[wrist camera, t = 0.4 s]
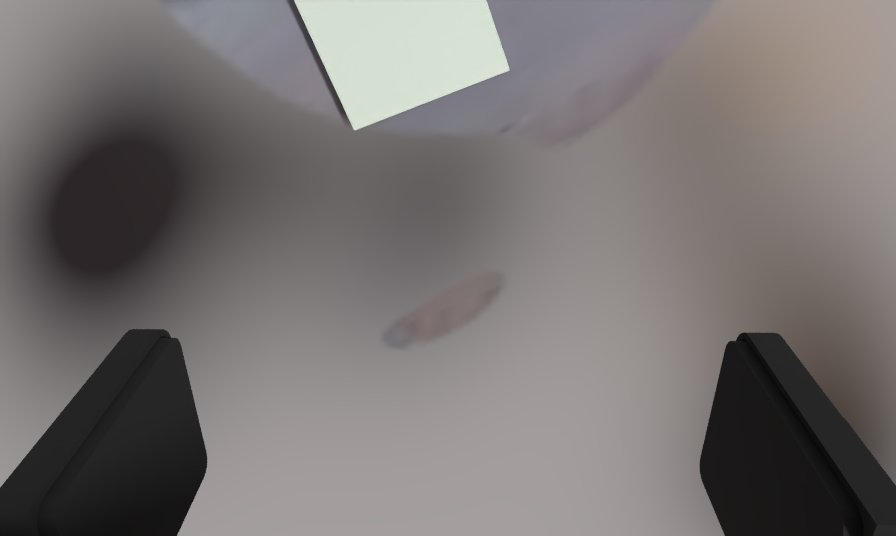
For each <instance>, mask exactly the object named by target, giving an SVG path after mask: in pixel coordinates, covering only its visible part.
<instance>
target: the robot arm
mask: <svg viewBox="0 0 896 536" xmlns="http://www.w3.org/2000/svg"><path fill="white" fill-rule="evenodd" d="M206 468H207V454H206V449H205V445H204V441H203V436H202V432H201V428H200V424H199V420H198V415H197V411H196V407H195V403H194V399H193V394H192V390H191V386H190V381H189V377H188V373H187V369H186V365H185V360H184V356H183V352H182V348H181V344H180V342H179V340H178V339H177V338H171V337H170V335H169V333H168V332H167V331H166V330H164V329H162V330H160V329H132V330H129V331H128V332H127V333H126V334H125V335H124V336H123V337H122V338H121V340H120V341H119V342H118V343H117V345H116V346H115V347H114V348H113V349H112V351H111V352H110V353H109V354H108V356H107V357H106V358H105V359H104V361H103V362H102V363H101V364H100V365H99V367H98V368H97V369H96V370H95V372H94V373H93V374H92V375H91V377H90V378H89V379H88V380H87V382H86V383H85V384H84V385H83V386H82V388H81V389H80V390H79V392H78V393H77V394H76V395H75V396H74V398H73V399H72V400H71V401H70V403H69V404H68V405H67V406H66V407H65V409H64V410H63V411H62V412H61V414H60V415H59V416H58V417H57V418H56V420H55V421H54V422H53V423H52V425H51V426H50V427H49V428H48V430H47V431H46V432H45V433H44V435H43V436H42V437H41V438H40V439H39V441H38V442H37V443H36V444H35V446H34V447H33V448H32V449H31V451H30V452H29V453H28V454H27V456H26V457H25V458H24V459H23V460H22V462H21V463H20V464H19V465H18V466H17V468H16V469H15V470H14V471H13V473H12V474H11V475H10V476H9V478H8V479H7V480H6V481H5V482H4V484H3V485H2V486H1V487H0V536H177V534H178V532H179V530H180V528H181V526H182V523H183V521H184V519H185V517H186V515H187V513H188V510H189V508H190V506H191V504H192V502H193V500H194V498H195V495H196V493H197V491H198V489H199V487H200V484H201V483H202V480H203V478H204V476H205V473H206ZM700 474H701V479H702V482H703V484H704V487H705V489H706V492H707V494H708V496H709V499H710V501H711V504H712V506H713V508H714V511H715V513H716V515H717V518H718V520H719V523H720V525H721V527H722V530H723V532H724V534H725V536H896V485H895V484H894V483H893V482H892V480H891V479H890V478H889V476H888V475H887V474H886V472H885V471H884V470H883V468H882V467H881V466H880V464H879V463H878V462H877V460H876V459H875V458H874V456H873V455H872V454H871V452H870V451H869V450H868V449H867V447H866V446H865V445H864V444H863V442H862V441H861V439H860V438H859V437H858V435H857V434H856V433H855V432H854V430H853V429H852V427H851V426H850V425H849V423H848V422H847V421H846V420H845V419H844V418H843V417H842V416H841V414H840V413H839V412H838V411H837V409H836V408H835V407H834V405H833V404H832V403H831V401H830V400H829V399H828V397H827V396H826V395H825V393H824V392H823V391H822V389H821V388H820V387H819V385H818V384H817V383H816V381H815V380H814V379H813V378H812V376H811V375H810V374H809V372H808V371H807V370H806V368H805V367H804V366H803V364H802V363H801V362H800V360H799V359H798V358H797V356H796V355H795V354H794V352H793V351H792V350H791V349H790V347H789V346H788V344H787V343H786V342H785V340H784V339H783V338H782V337H781V336H780V335H779V334H777V333H741V334H740V335H739V336H738V337H737V340H736V341H730V342H728V344H727V345H726V349H725V352H724V357H723V362H722V366H721V371H720V374H719V379H718V383H717V388H716V392H715V397H714V401H713V406H712V410H711V414H710V418H709V423H708V427H707V432H706V436H705V440H704V445H703V449H702V454H701V458H700Z"/></svg>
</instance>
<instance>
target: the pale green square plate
mask: <svg viewBox="0 0 896 536" xmlns="http://www.w3.org/2000/svg"><path fill="white" fill-rule="evenodd" d="M294 1H295V3H296V6H297V8H298V10H299V12H300V14H301V16H302V19H303V21H304V23H305V25H306V27H307V29H308V32H309V34H310V36H311V38H312V40H313V42H314V45H315V47H316V49H317V51H318V53H319V55H320V58H321V60H322V62H323V64H324V66H325V68H326V70H327V73H328V75H329V77H330V79H331V81H332V83H333V86H334V88H335V90H336V92H337V94H338V96H339V99H340V101H341V103H342V105H343V107H344V109H345V112H346V114H347V116H348V118H349V120H350V122H351V125H352V127H353V129H354V130H357V129H360V128H362V127H365V126H367V125H370V124H373V123H375V122H378V121H380V120H383V119H386V118H388V117H391V116H393V115H396V114H398V113H401V112H404V111H406V110H409V109H411V108H414V107H416V106H419V105H422V104H424V103H427V102H429V101H432V100H434V99H437V98H440V97H442V96H445V95H447V94H450V93H452V92H455V91H458V90H460V89H463V88H465V87H468V86H470V85H473V84H476V83H478V82H481V81H483V80H486V79H488V78H491V77H494V76H496V75H499V74H501V73H504V72H506V71H509V70H510V69H509V66H508V63H507V60H506V57H505V54H504V51H503V49H502V46H501V43H500V40H499V37H498V34H497V31H496V28H495V25H494V22H493V19H492V16H491V13H490V10H489V7H488V4H487V1H486V0H294Z"/></svg>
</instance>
